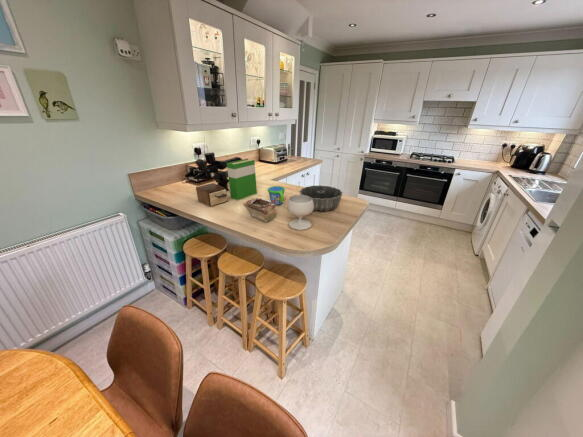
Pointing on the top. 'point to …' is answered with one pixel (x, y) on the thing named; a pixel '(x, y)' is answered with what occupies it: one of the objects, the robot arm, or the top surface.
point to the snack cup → (276, 194)
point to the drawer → (217, 197)
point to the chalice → (300, 210)
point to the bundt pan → (323, 197)
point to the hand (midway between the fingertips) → (189, 177)
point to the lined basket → (261, 209)
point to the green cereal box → (242, 178)
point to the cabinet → (207, 192)
